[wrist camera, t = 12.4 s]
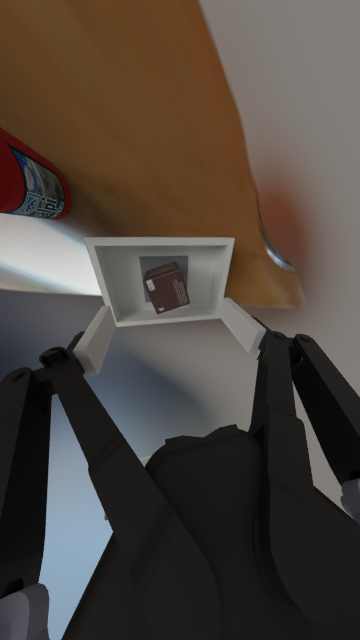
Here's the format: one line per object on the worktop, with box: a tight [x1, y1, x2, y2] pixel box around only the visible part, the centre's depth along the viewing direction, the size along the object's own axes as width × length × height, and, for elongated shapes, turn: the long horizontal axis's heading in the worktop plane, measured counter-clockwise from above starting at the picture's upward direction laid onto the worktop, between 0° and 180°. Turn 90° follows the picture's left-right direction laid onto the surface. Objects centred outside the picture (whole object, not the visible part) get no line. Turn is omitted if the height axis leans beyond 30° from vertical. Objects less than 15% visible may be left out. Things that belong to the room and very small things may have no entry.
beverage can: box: [0, 127, 70, 219], centre depth 14 cm, size 7×7×12 cm
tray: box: [83, 237, 235, 327], centre depth 26 cm, size 22×15×5 cm
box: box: [143, 261, 190, 314], centre depth 24 cm, size 6×6×7 cm
